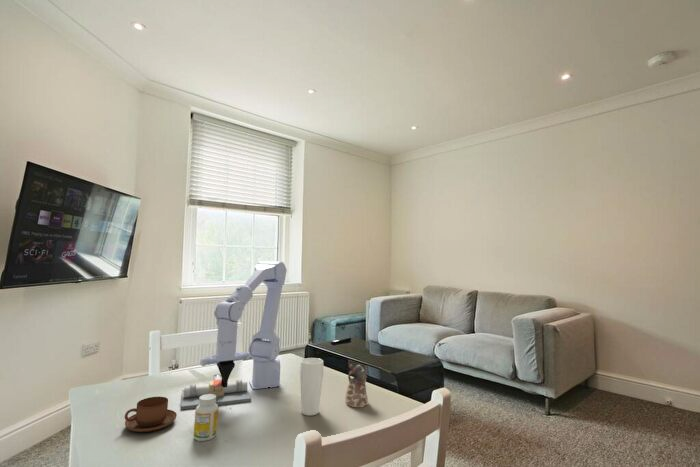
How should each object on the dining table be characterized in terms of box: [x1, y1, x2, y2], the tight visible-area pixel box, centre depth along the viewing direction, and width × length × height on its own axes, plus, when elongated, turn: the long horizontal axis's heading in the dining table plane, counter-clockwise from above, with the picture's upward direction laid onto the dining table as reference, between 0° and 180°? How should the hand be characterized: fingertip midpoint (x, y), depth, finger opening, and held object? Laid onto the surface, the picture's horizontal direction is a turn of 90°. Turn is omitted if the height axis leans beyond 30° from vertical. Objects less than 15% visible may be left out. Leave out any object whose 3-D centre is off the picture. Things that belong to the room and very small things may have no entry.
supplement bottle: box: [193, 394, 219, 442], centre depth 90 cm, size 5×5×10 cm
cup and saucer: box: [124, 396, 178, 433], centre depth 95 cm, size 12×12×6 cm
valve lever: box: [212, 373, 222, 392], centre depth 111 cm, size 12×2×2 cm, turn 21°
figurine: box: [345, 364, 369, 408], centre depth 114 cm, size 7×7×12 cm
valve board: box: [180, 379, 252, 411], centre depth 115 cm, size 20×14×5 cm
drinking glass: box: [299, 357, 324, 417], centre depth 106 cm, size 7×7×15 cm
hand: (224, 386), depth 110 cm, fingers closed, pressing on valve lever
